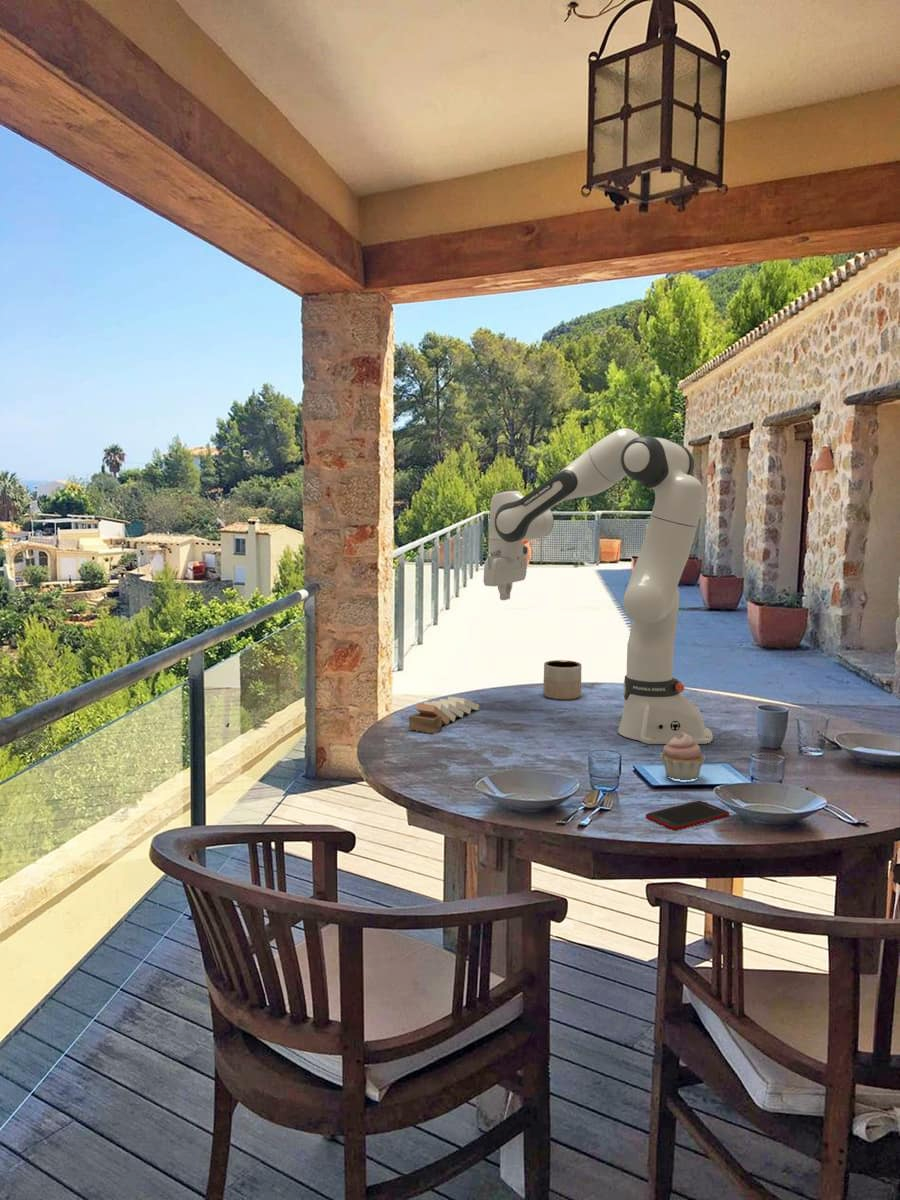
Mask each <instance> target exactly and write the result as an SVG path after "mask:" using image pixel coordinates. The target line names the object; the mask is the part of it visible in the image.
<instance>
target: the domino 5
mask: <svg viewBox="0 0 900 1200" xmlns="http://www.w3.org/2000/svg"><path fill="white" fill-rule="evenodd" d="M447 700H453V701H458V702H460V703H462V704H463V705H465V706H467V707H469V708H471V711H477V710H478V711H479V708H480V704H479V703H476V702H474V701H471V700H469V699H467V698H463V697H462V698H461V697H455V696H448V697H447Z"/></svg>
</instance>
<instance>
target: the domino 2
mask: <svg viewBox="0 0 900 1200" xmlns="http://www.w3.org/2000/svg"><path fill="white" fill-rule="evenodd" d="M423 704H427V705H434V706H436V707H437V708H438V709H439V710H441V711H442V712H443V713H444V714H445V715H446V716H447V717H448V718H449V719H450V720H449V723H450V722H451V723H455V722H456V721H455V720H456V718H457V717H456V716H455V715H454V714H453V713H452V712H450V711H449V710H448V709H447V708H446V707H445V706H444V705H442V704H440V703H433V702H432V701H423Z"/></svg>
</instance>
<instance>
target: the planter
mask: <svg viewBox="0 0 900 1200" xmlns="http://www.w3.org/2000/svg"><path fill="white" fill-rule="evenodd" d="M542 686H543V687H542V688H543V689H542V690H543V691H542V693H543V696H544V697H546V698H547V697H548V698H547V699H550V698H552V699H551V700H555V699H559V700H558V701H571V700H570V699H574V700H577V699H579V698H580V697H581V696H582V664H581V662H577V661H573V660H566V659H565V660H564V659H563V660H562V659H561V660H560V659H558V660H549V661H545V662H544V664H543V685H542ZM576 698H577V699H576Z"/></svg>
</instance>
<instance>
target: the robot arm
mask: <svg viewBox="0 0 900 1200" xmlns="http://www.w3.org/2000/svg"><path fill="white" fill-rule="evenodd" d="M694 469H695V460H694V456H693V455H692V453H691V451H689V449H688V448H687V447H685V446H684V445H682V444H681V443H676V442H674V441H671V440H668V439H667V438H662V437H653V436H650V435H644V436H643V435H641V436H640V434H638V433H637V432H636V431H635V430H632V429H630V428H628V427H627V428H626V427H623V428H620V429H617V430H615V431H613V432H611V433H609V434H608V435H605V436H604V437H602V438H601V439H600V440H598V441H596V443H595V444H593V445H591V446H590V447H589V448H588V449H586V451H584V452H583V453H582V454H580V456H578V457H577V458H576V459H575V460H573V461H572V462H571V463H569V464H568V465H567V466H565V467H564V468H563V469H561V470H560V471H558V473H556V474H555V475H553V476H552V477H550V478H548V479H547V480H546V481H544V482H543V483H541V484H540V485H539V486H537V487H535V488H534V489H533V490H531V491H530V492H529V493H527V494H526V495H523V494H522V493H521V491H519V490H517V489H508V490H501V491H498V492H496V493H494V494H493V495H492V498H491V500H490V507H489V526H490V534H489V543H488V544H489V547H488V548H489V549H488V550H489V554H488V556H487V558H486V559H485V561H484V568H483V584H484V586H485V587H497V590H498V592H499V599H500V601H507V600H510V599H511V592H512V589H513V583H518V582H521V581H525V579H526V577H527V568H528V558H527V555H529V547H528V546H527V545H525V544H524V543H523V542H522V541H526V540H535V539H541V538H544V537H547V536H548V535H549V534H551V532H552V530H553V528H554V524H555V523H554V522H555V521H554V515H553V511H552V508H554V507H555V506H557V505H558V504H560V503H562V502H565V501H569V500H572V499H577V498H579V499H580V498H586V497H591V496H596V495H598V494H601V493H603V492H605V491H606V490H608V489H610V488H612V487H613V486H614V485H616V484H617V483H619V482H620V481H621V480H622V479H624V478H625V477H627V476H629V477H630V478H631V479H632V480H634V481H635V482H637V483H639V484H640V485H642V486H643V487H645V488H646V489H650V490H651V489H653V491H654V495H655V497H654V498H655V500H654V504H653V507H652V511H651V515H650V517H649V518H650V519H649V520H648V523H647V529H646V533H645V535H644V539H643V543H642V546H641V549H640V551H639V555H638V557H637V559H636V561H635V564H634V567H633V570H632V573H631V575H630V578H629V581H628V584H627V587H626V590H625V593H624V596H623V600H622V607H623V611H624V613H625V614H626V616H627V617H628V618H629V619H630V620H631V625H630V631H629V636H628V641H627V650H626V652H627V653H626V675H625V676H624V680H623V698H624V705H623V710H622V716H621V720H620V724H619V725H618V729H617V733H618V734H620V735H621V736H623V737H625V738H628V739H632V740H636V741H639V742H642V743H643V744H648V745H666V744H668V743H669V741H670V740H671V739H672V738H675V737H679V736H680V734H681V732H684V733H685V734H688V735H689V736H691V737H692V738H693V740H694V741H695V743H696V744H698V745H699V744H700V745H702V744H704V745H707V743H708V744H710V743H712V742H711V741H713V739H714V738H713V732H712V731H711V729H710V728H708V727H706V726H705V724H704V718H703V714H702V711H700V709H699V708H698V707H697V706H696V705H695V704H694V703H692V702H691V701H690V700H689V699H687V698H686V697H685V696H684V695H683V694H681V693H682V692H684V691H685V685H684V683H682V682H681V681H680V680H679V679H678V678H675V677H674V675H673V674H674V657H675V652H674V650H675V641H676V633H677V626H678V619H679V618H678V617H679V607H680V597H681V596H680V595H681V594H680V590H679V589H680V588H679V586H678V585H679V583H680V580H681V577H682V575H683V572H684V569H685V568H686V564H687V562H688V560H689V557H690V554H691V550H692V546H693V543H694V539H695V536H696V532H697V529H698V525H699V521H700V518H701V513H702V509H703V508H702V507H703V499H704V487H703V484H702V483H701V481H700V480H699V479H697V478H696V477H695V476H693V475H692V474H693V472H694Z"/></svg>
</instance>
